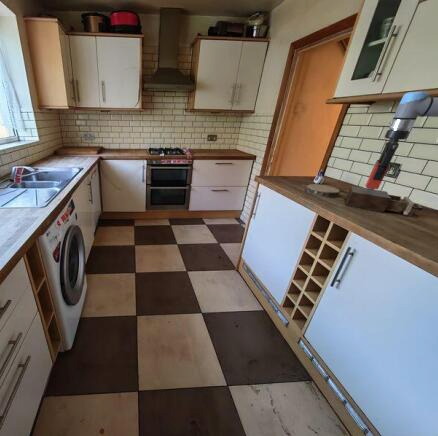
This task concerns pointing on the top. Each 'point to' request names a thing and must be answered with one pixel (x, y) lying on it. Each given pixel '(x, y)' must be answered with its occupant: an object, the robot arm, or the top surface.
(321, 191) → the round wood slice
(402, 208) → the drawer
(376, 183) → the tea box
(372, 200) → the dark wooden block
